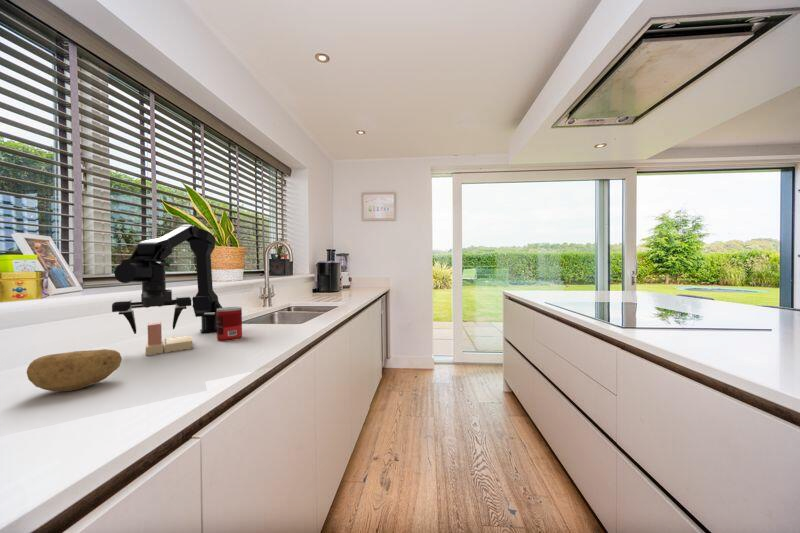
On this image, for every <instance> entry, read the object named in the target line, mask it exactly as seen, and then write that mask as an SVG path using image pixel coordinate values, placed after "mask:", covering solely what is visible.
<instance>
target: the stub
mask: <svg viewBox="0 0 800 533" xmlns="http://www.w3.org/2000/svg"><path fill="white" fill-rule="evenodd" d="M157 353H160V354H163V353H164V338H162V322H161V321H160V322H151V323H148V324H147V342H146V345H145V356H146V355H147V356H151V355H150V354H153V355H158V354H157Z"/></svg>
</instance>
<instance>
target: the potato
mask: <svg viewBox="0 0 800 533" xmlns="http://www.w3.org/2000/svg"><path fill="white" fill-rule="evenodd" d="M122 360H123V358H122V355H121V353H120V352H119V351H117V350H114V349H103V348H102V349H95V350H94V349H93V350H92V349H91V350H75V351H70V352H69V351H68V352H62V353H51V354H46V355H43V356H40V357H38V358H35V359H33V361H31V362H30V363H29V365H28V366H27V369H26V375H27V378H28V381H30V382H31V384H33V385H34V387H36V388H39V389H41V390H44V391H50V392H73V391H77V390H80V389H84V388H86V387H89V386H91V385H94V384H97V383H100V382H102V381H103V380H106V379H107V378H108V377H109V376H110V375H112V374H113V373H114V372H115V371H116V370H118V368H119V367H120V365H121V364H122Z"/></svg>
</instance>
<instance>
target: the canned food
mask: <svg viewBox="0 0 800 533" xmlns="http://www.w3.org/2000/svg"><path fill="white" fill-rule="evenodd" d="M242 311H243V310H242V307H241V306H224V307H222V308H219V309H217V331H216V338H217V341H219V342H231V341H235V339H236V340H239V339H241V338H242V337H243V312H242ZM230 340H231V341H230Z"/></svg>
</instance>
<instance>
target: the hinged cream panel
mask: <svg viewBox="0 0 800 533" xmlns="http://www.w3.org/2000/svg"><path fill="white" fill-rule="evenodd" d="M193 344H194V343H193V338H192V336H191V335H185V336H177V337H169V338H163V351H164V353H165V352H166V353H171V352H170V351H173V352H177V350H179V351H184V350H183V349H186V350H191V348H192V349H193Z"/></svg>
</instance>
